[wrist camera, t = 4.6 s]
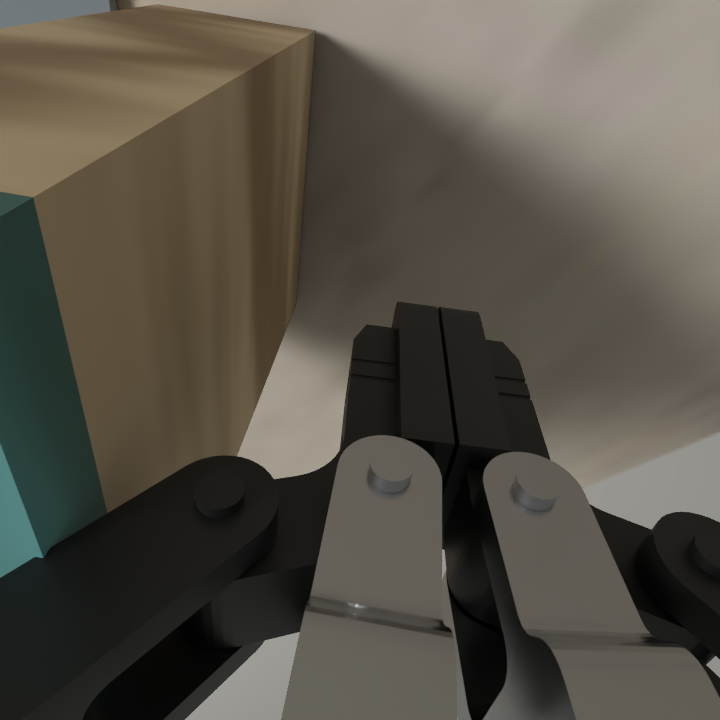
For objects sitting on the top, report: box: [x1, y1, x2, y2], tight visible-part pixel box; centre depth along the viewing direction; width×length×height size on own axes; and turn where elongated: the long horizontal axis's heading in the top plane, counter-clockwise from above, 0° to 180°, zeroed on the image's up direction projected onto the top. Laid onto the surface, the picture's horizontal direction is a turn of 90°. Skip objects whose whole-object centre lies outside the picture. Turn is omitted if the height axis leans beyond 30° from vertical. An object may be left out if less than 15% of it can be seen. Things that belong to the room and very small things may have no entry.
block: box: [0, 4, 316, 578], centre depth 11 cm, size 4×8×13 cm, turn 172°
